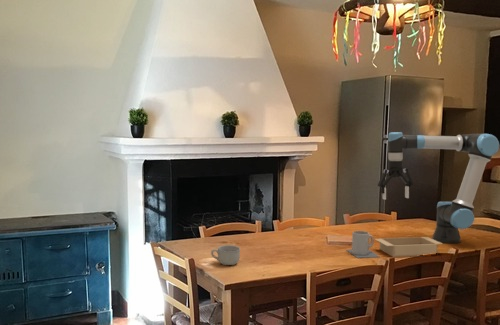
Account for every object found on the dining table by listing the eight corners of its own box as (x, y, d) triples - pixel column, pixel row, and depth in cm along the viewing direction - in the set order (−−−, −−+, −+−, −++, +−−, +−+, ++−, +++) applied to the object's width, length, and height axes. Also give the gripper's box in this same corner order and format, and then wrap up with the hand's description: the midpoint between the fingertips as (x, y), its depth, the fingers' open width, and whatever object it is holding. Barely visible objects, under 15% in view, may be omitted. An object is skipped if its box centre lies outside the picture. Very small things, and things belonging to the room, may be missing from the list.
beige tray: (426, 247, 263) (426, 236, 262) (443, 255, 246) (443, 243, 246) (373, 249, 257) (373, 238, 257) (387, 257, 241) (387, 246, 241)
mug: (357, 256, 242) (358, 234, 241) (348, 251, 250) (349, 231, 249) (377, 254, 246) (378, 233, 246) (367, 250, 254) (368, 229, 253)
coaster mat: (367, 249, 256) (367, 248, 256) (379, 257, 242) (379, 256, 242) (346, 250, 254) (346, 249, 254) (357, 258, 240) (357, 257, 240)
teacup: (240, 260, 234) (240, 244, 233) (240, 267, 223) (240, 250, 222) (211, 260, 233) (211, 244, 233) (210, 267, 222) (210, 250, 222)
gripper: (412, 158, 267) (412, 196, 268) (371, 160, 262) (371, 198, 264) (419, 159, 259) (419, 198, 261) (377, 161, 255) (377, 200, 256)
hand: (395, 198), depth 262 cm, fingers open, 13 cm apart
